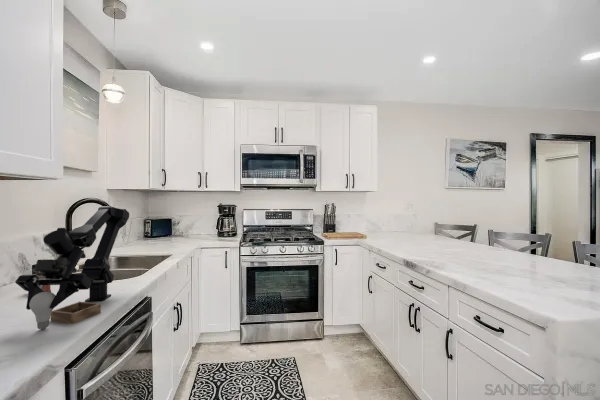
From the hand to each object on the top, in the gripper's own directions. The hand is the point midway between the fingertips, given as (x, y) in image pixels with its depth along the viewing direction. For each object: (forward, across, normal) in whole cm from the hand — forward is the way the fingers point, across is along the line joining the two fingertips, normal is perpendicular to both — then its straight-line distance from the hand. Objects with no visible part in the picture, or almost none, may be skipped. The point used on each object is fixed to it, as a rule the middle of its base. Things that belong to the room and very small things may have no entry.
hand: (39, 308), depth 83 cm
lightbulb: (+4, 0, +6) cm, 7 cm away
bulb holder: (-3, +3, +12) cm, 13 cm away
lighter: (-23, -29, +33) cm, 49 cm away
